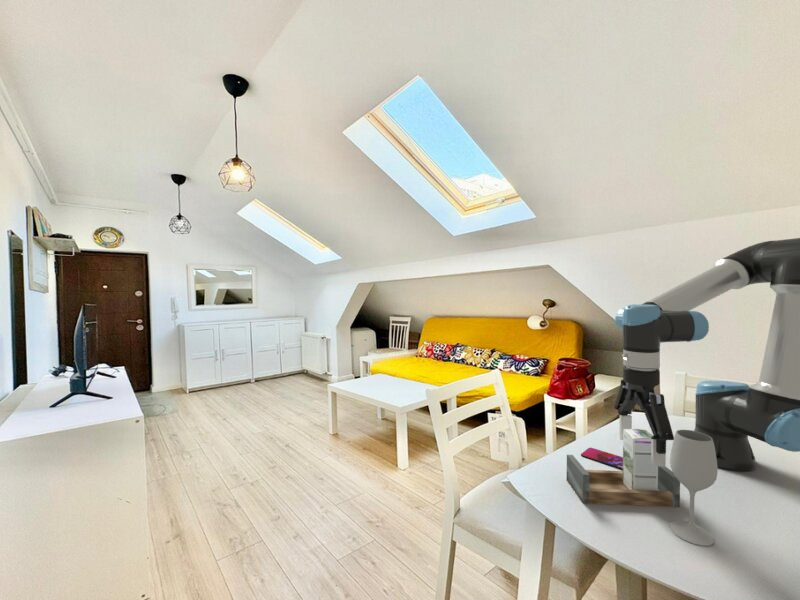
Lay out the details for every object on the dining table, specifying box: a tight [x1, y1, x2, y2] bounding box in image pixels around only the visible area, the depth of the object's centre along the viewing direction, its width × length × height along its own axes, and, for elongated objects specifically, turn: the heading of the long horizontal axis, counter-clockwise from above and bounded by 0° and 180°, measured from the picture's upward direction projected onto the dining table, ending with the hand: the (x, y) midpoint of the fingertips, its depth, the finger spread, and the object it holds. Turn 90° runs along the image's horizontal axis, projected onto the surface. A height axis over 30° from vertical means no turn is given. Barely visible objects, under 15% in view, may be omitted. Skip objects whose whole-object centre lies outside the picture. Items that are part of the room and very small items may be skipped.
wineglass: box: [669, 429, 719, 547], centre depth 74 cm, size 8×8×21 cm
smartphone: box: [580, 447, 623, 471], centre depth 106 cm, size 8×1×15 cm
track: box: [566, 454, 681, 508], centre depth 90 cm, size 22×10×7 cm, turn 86°
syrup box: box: [622, 428, 658, 491], centre depth 88 cm, size 6×6×14 cm
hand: (640, 451), depth 89 cm, fingers open, 13 cm apart
